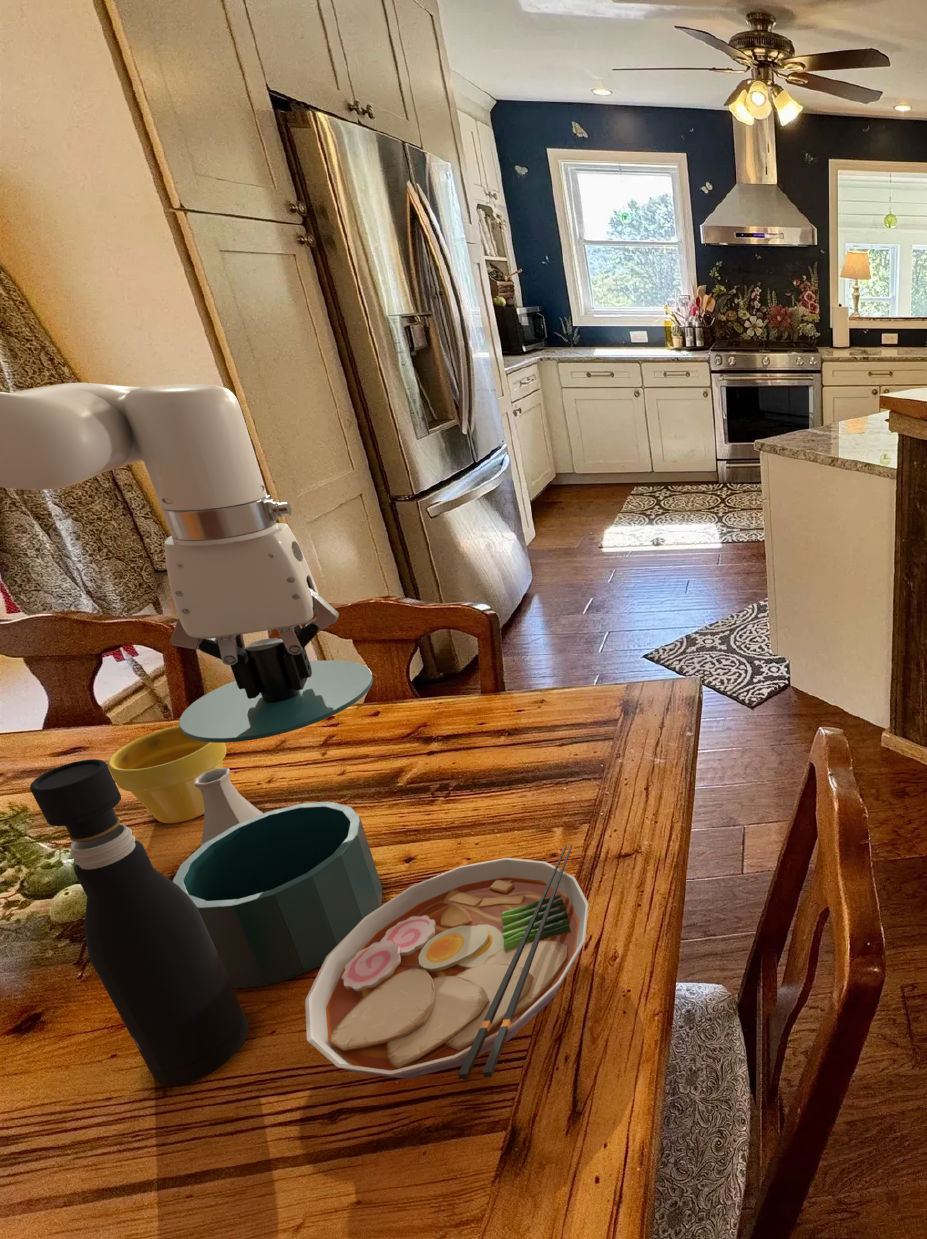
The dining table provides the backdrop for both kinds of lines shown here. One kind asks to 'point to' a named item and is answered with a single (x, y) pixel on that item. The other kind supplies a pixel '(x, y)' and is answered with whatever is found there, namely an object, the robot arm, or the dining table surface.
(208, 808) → the flask
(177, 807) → the flower pot
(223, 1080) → the dining table surface
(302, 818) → the pot
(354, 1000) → the ramen bowl
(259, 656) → the lid
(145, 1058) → the dark water bottle
